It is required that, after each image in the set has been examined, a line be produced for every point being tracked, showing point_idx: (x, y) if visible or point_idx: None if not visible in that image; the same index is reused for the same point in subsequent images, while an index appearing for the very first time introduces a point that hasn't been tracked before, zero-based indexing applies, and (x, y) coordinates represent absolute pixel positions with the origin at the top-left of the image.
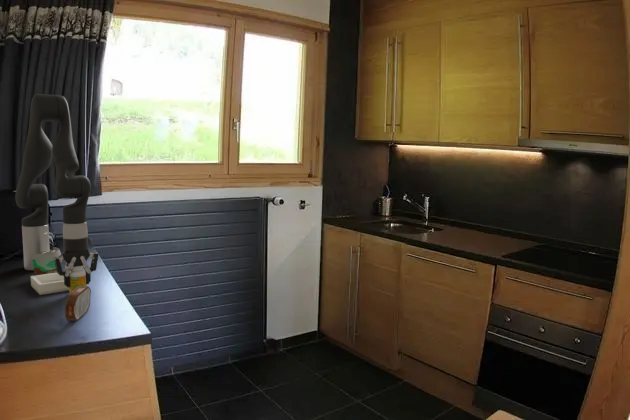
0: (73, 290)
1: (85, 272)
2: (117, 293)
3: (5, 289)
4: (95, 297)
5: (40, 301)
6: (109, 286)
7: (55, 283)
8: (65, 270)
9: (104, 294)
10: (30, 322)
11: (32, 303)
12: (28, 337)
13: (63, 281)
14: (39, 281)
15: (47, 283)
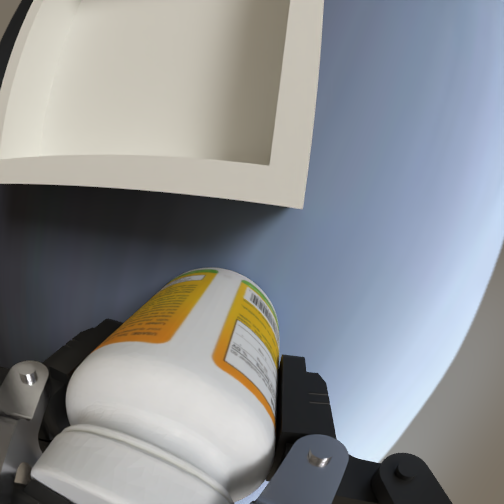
0: None
1: (258, 487)
2: (389, 445)
3: (16, 9)
4: None
5: (26, 303)
6: (464, 298)
7: (60, 184)
8: (11, 408)
9: (336, 432)
10: None
11: (6, 304)
12: None
13: (113, 186)
14: (11, 85)
15: (15, 178)
